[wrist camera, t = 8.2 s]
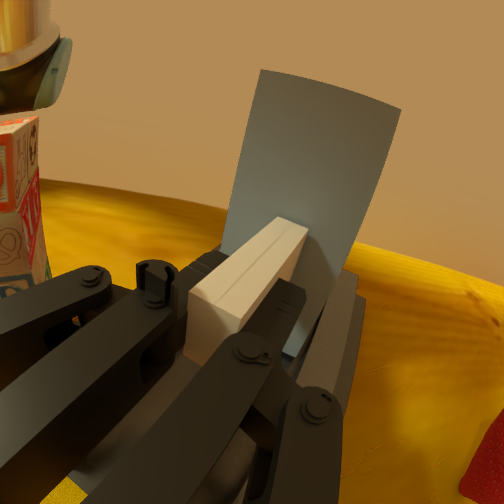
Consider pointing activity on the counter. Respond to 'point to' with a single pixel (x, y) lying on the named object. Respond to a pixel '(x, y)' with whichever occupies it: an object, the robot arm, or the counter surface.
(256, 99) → the grey rectangular block
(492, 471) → the strawberry
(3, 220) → the stack of blocks
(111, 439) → the chute
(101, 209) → the counter surface
